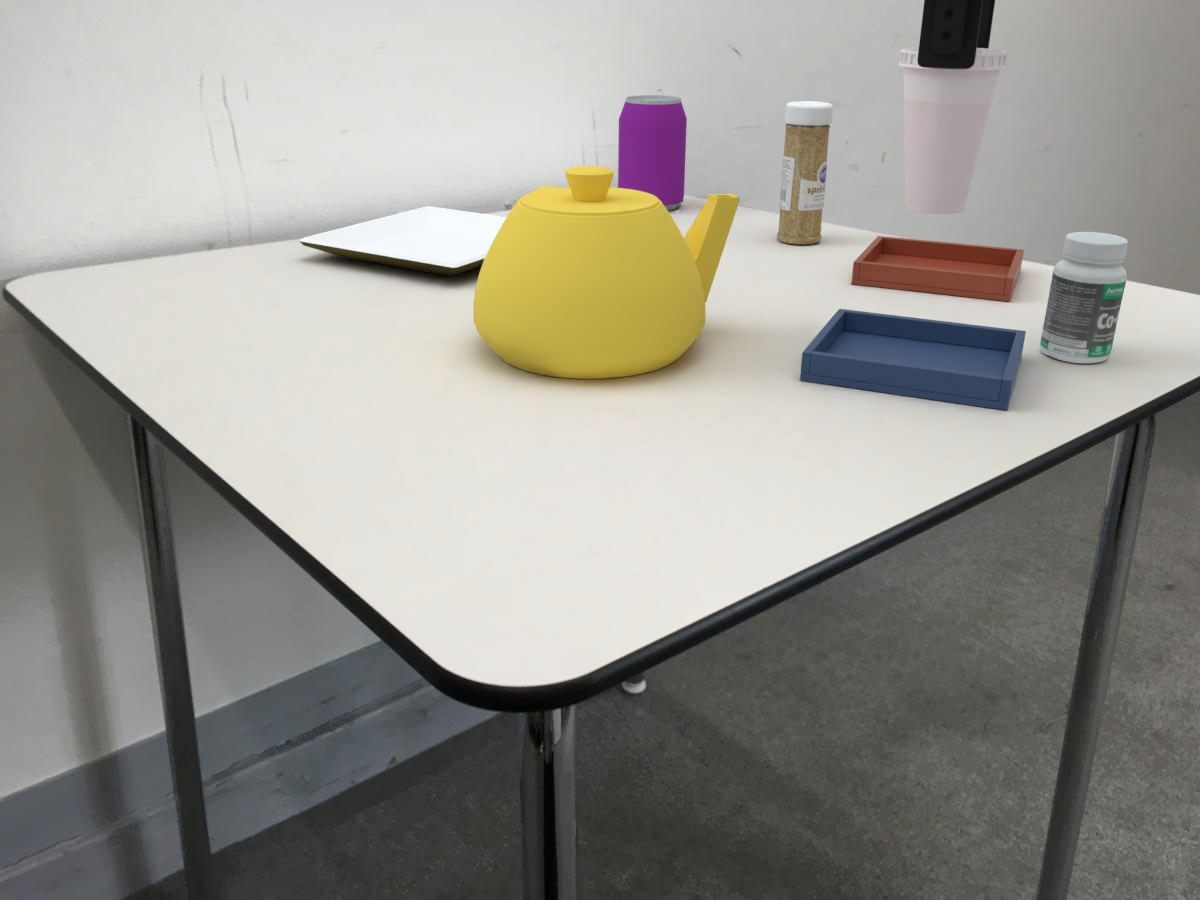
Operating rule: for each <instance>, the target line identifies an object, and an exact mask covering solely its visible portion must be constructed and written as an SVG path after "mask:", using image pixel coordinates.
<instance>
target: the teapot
mask: <svg viewBox="0 0 1200 900" xmlns="http://www.w3.org/2000/svg"><path fill="white" fill-rule="evenodd" d="M564 174H565V178H566V181H567V184H568V186H566V187H558V186H556V185H555V186H554V185H545V186H541V187H537V188H535V189H534V190H532V191H531V192H529V193H526V194H524V195H522V196H521V197H520V198H519V199H518V200H517V201H516V202H515V204H514V205H513V207H512V208H511V210H510V211H509V212H508V214H507V216H505V217H506V219H505V221H504V223H503V224H502V226H501V228H500V230H499V231H498V233H497V235H496V237H495V238H494V240H493V242H492V244H491V246H490V248H489V250H488V252H487V255H486V257H485V259H484V261H483V264H482V266H480V270H479V273H478V277H477V281H476V286H475V290H474V297H473V298H474V299H473V324H474V326H475V329H476V331H477V334H479V336H480V337H481V339H483V341H484V342H485V343H486V344H487V345H488V346H489V347H490V348H491V350H493V352H494V353H495V354H496V355H498V356H499V358H501V359H502V360H503V361H504V362H506V364H509V365H510V366H513V367H514V368H518V369H520V370H523V371H525V372H530V373H533V374H536V375H543V376H548V377H555V378H565V379H580V380H581V379H584V380H586V379H587V380H588V379H589V380H591V379H593V380H596V379H598V380H599V379H614V378H622V377H629V376H630V377H631V376H636V375H642V374H646V373H650V372H653V371H656V370H659V369H663V368H665V367H667V366H669V365H671V364H673V363H675V362H676V361H677V360H678V359H679V358H680V357H681V356H682V355H683V354H684V353H686V351H688V349H689V348H690V347H691V346H692V345H693V343H694V342H695V341H696V340H697V339H698V337H700V335H701V333H702V331H703V329H704V327H705V323H706V303H707V301H708V297H709V294H710V292H711V289H712V286H713V282H714V279H715V276H716V273H717V270H718V267H719V264H720V261H721V258H722V255H723V252H724V249H725V246H726V243H727V240H728V237H729V234H730V231H731V228H732V225H733V222H734V219H735V216H736V212H737V209H738V206H739V203H740V198H741V197H740V196H738V195H735V194H732V193H719V194H718V193H715V194H712V193H711V194H707V199H706V202H705V203H704V205H702V208H701V209H700V211H699V213H698V214H697V216H696V217H695V219H694V220H693V222H692V224H691V225H690V227H689V229H688V230H687V232H686V233H685V235H683V234H682V232H681V231H680V228H679V227H678V225H677V223H676V221H675V220H674V218H673V217H672V215H671V212H669V210H667V209H666V208H665V206H664V205H663V203H662V202H661V201H660V200H659V199H658V198H657V197H656V196H654V195H652V194H649V193H646V192H642V191H638V190H632V189H624V188H618V187H613V186H611V184H612V182H613V179H614V175H615V170H614V169H612V168H610V167H607V166H601V165H578V166H576V165H575V166H572V167H569V168H567V169H565V170H564Z"/></svg>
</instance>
